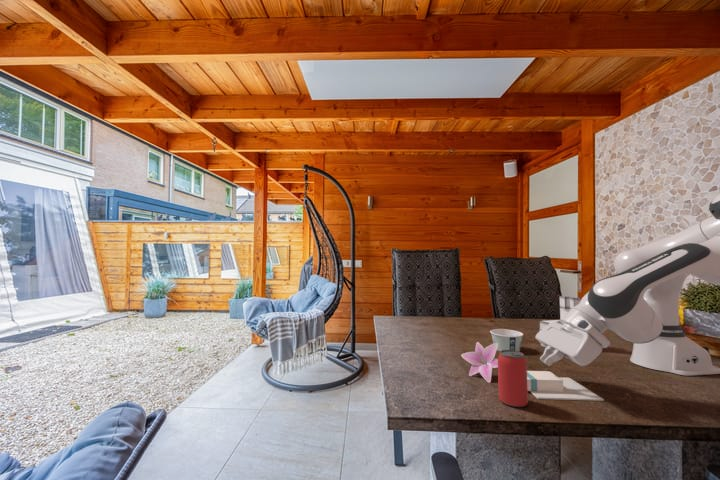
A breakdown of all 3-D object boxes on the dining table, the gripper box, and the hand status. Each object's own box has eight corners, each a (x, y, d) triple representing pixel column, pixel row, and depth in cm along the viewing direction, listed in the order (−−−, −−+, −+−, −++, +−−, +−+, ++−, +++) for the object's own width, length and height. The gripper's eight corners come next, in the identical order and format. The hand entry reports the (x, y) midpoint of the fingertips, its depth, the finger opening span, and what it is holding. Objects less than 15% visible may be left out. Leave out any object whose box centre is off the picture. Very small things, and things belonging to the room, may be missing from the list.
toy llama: (535, 345, 126) (533, 296, 127) (571, 343, 129) (569, 295, 130) (549, 351, 118) (547, 299, 120) (587, 348, 122) (585, 297, 123)
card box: (549, 371, 88) (513, 370, 89) (563, 380, 81) (524, 379, 82) (549, 382, 88) (513, 381, 88) (563, 392, 81) (524, 390, 82)
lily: (459, 371, 100) (453, 348, 97) (488, 354, 103) (484, 332, 99) (484, 397, 89) (479, 373, 86) (516, 378, 92) (512, 354, 88)
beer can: (527, 410, 72) (525, 358, 73) (496, 403, 75) (495, 354, 76) (528, 400, 77) (527, 351, 78) (500, 393, 81) (499, 347, 82)
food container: (486, 344, 128) (486, 328, 128) (516, 345, 126) (516, 329, 127) (496, 353, 116) (495, 335, 116) (529, 354, 115) (528, 336, 115)
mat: (569, 379, 91) (569, 377, 91) (603, 400, 77) (603, 399, 77) (513, 377, 92) (513, 376, 92) (537, 399, 78) (537, 397, 78)
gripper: (550, 312, 96) (518, 343, 96) (596, 327, 75) (556, 366, 75) (565, 327, 95) (534, 358, 95) (616, 346, 75) (575, 385, 75)
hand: (544, 362), depth 85 cm, fingers closed
